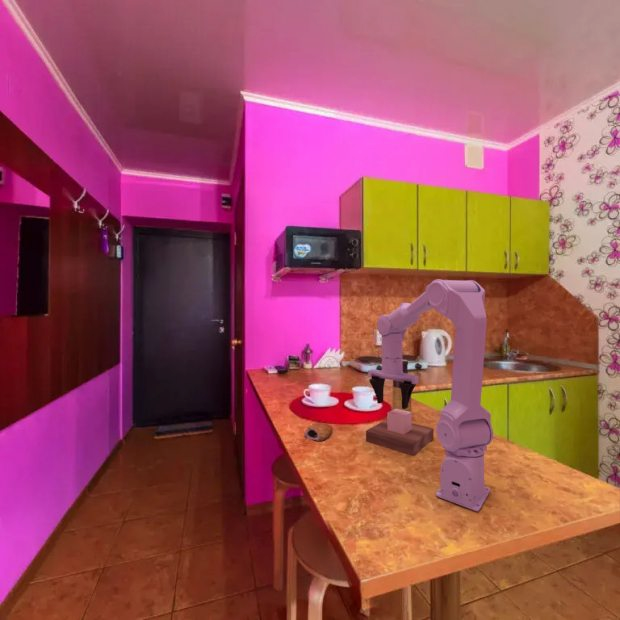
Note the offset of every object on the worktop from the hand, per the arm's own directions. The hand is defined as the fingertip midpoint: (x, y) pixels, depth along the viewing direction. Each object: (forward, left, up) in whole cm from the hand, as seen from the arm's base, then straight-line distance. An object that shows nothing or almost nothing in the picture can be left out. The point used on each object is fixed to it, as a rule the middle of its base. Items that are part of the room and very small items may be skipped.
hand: (392, 405), depth 92 cm
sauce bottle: (+21, +7, -11) cm, 24 cm away
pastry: (-10, +19, -11) cm, 24 cm away
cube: (+2, -1, -7) cm, 8 cm away
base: (+3, -1, -10) cm, 11 cm away
